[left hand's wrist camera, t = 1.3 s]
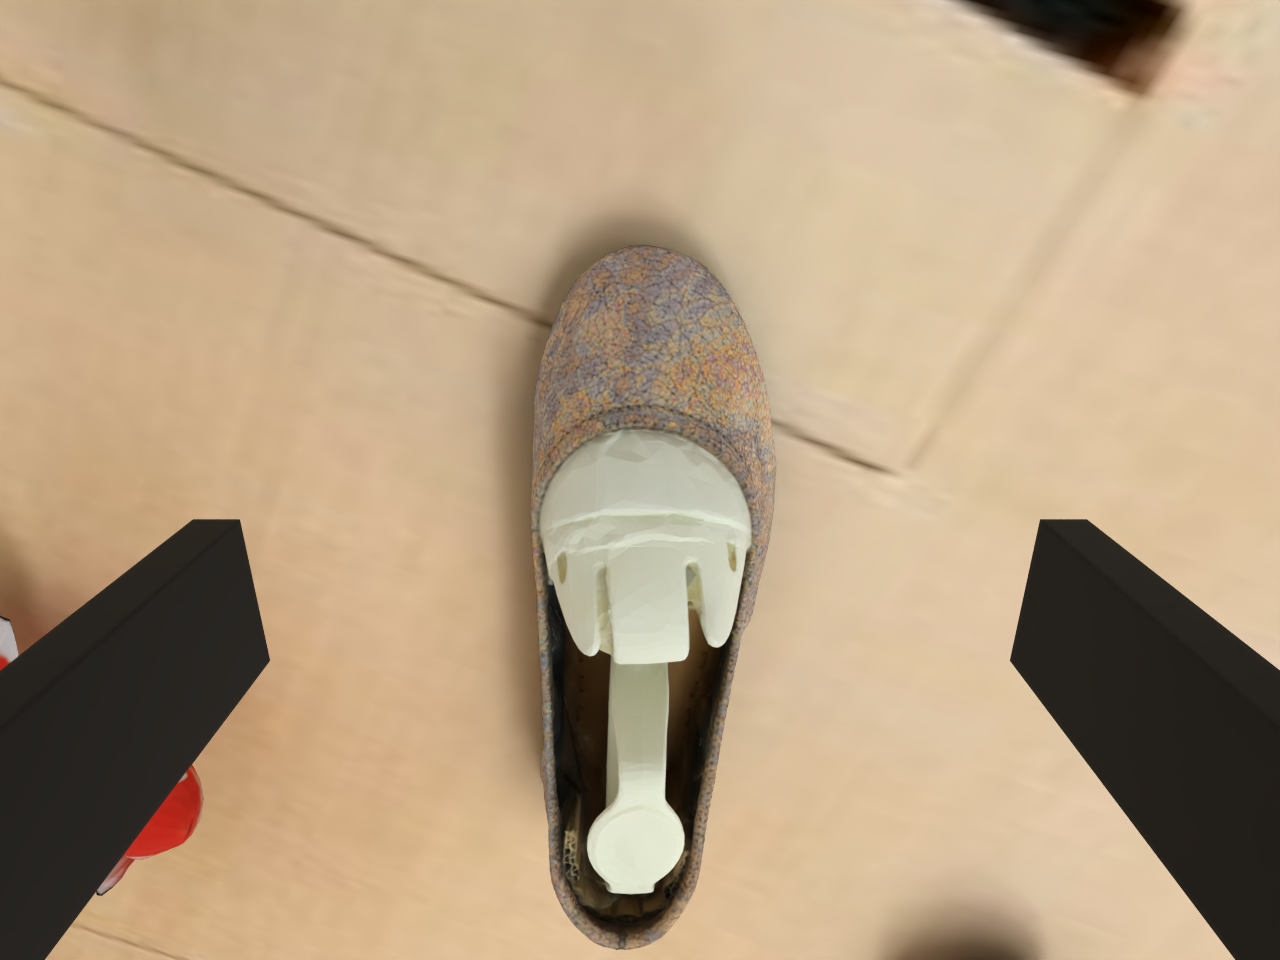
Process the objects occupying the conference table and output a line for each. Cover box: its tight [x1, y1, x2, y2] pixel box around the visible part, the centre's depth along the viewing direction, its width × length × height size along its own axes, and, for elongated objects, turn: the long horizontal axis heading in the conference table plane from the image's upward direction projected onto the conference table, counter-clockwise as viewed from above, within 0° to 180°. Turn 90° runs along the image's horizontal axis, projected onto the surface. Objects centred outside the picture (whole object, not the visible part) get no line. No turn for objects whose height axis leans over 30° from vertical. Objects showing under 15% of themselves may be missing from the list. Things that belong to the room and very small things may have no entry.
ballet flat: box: [531, 245, 776, 950], centre depth 25 cm, size 8×25×8 cm, turn 0°
